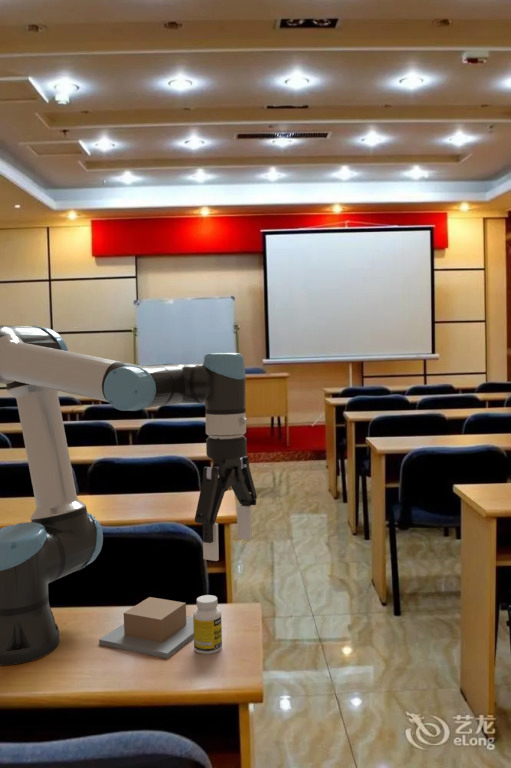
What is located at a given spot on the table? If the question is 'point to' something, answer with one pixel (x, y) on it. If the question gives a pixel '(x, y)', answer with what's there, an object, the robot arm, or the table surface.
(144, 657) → the table surface
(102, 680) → the table surface
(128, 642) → the base
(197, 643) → the supplement bottle
